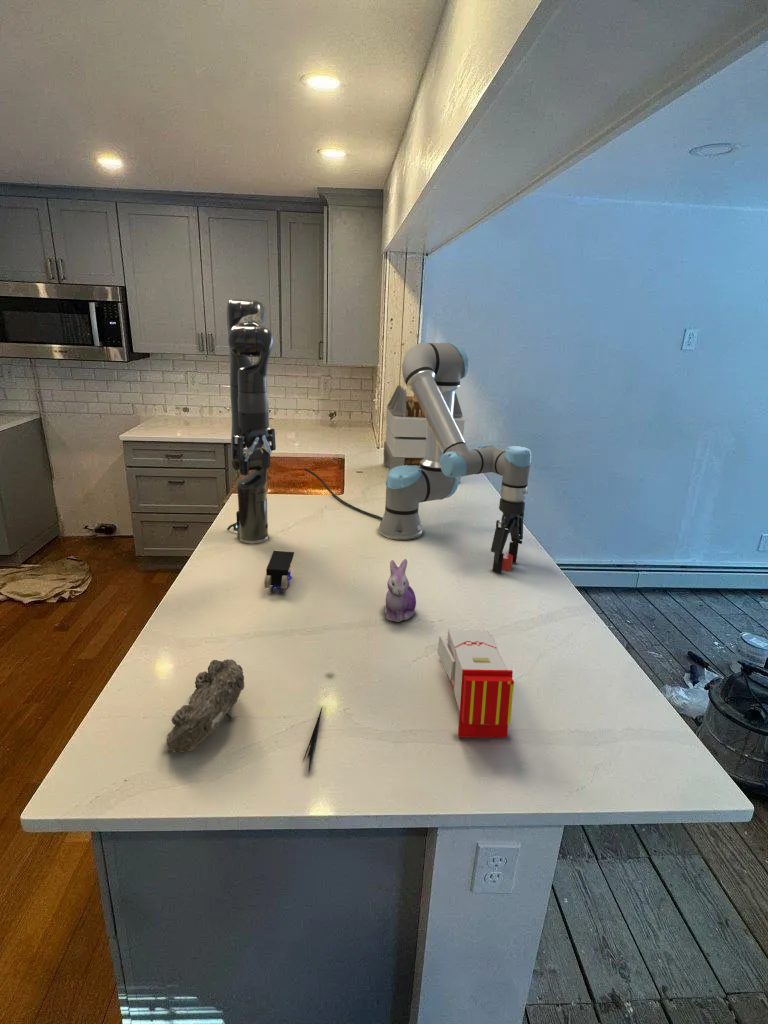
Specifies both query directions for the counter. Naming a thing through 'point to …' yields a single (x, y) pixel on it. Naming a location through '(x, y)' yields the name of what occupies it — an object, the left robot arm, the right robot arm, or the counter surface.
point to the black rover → (279, 570)
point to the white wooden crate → (409, 430)
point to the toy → (478, 682)
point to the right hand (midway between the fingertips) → (504, 566)
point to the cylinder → (507, 561)
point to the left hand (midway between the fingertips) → (255, 471)
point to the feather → (313, 740)
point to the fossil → (206, 705)
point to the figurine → (399, 594)
